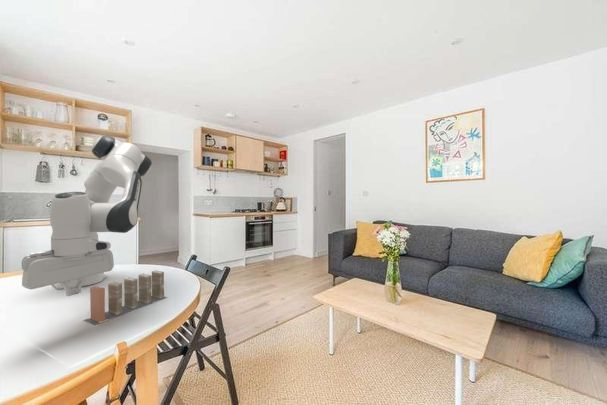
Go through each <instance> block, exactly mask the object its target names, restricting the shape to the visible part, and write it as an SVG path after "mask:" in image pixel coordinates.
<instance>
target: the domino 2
mask: <svg viewBox="0 0 607 405" xmlns="http://www.w3.org/2000/svg"><path fill="white" fill-rule="evenodd" d="M123 289H124V290H123V293H124V294H123V298H124V302H123V303H124V304H123V306H124V307H127V308H130V309H135V308H138V301H139V285H138V278H134V277H130V276H129V277H125V278H123Z"/></svg>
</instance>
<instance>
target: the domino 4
mask: <svg viewBox="0 0 607 405" xmlns="http://www.w3.org/2000/svg"><path fill="white" fill-rule="evenodd" d="M151 293H152V297H155V298H158V299H162V298H164V297H165V272H164V271H161V270H151ZM162 300H163V299H162Z"/></svg>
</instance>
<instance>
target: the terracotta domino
mask: <svg viewBox="0 0 607 405" xmlns="http://www.w3.org/2000/svg"><path fill="white" fill-rule="evenodd" d="M105 289H106V288H104V287H100V286H97V285H95V286H91V287H90V288H89V294H90V295H89V296H90V298H89V299H90V303H89V306H90V317H91V319H92V320H95V321H97V322H101V321H104V320H105V312H106V297H105V296H106V292H105V291H106V290H105Z"/></svg>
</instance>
